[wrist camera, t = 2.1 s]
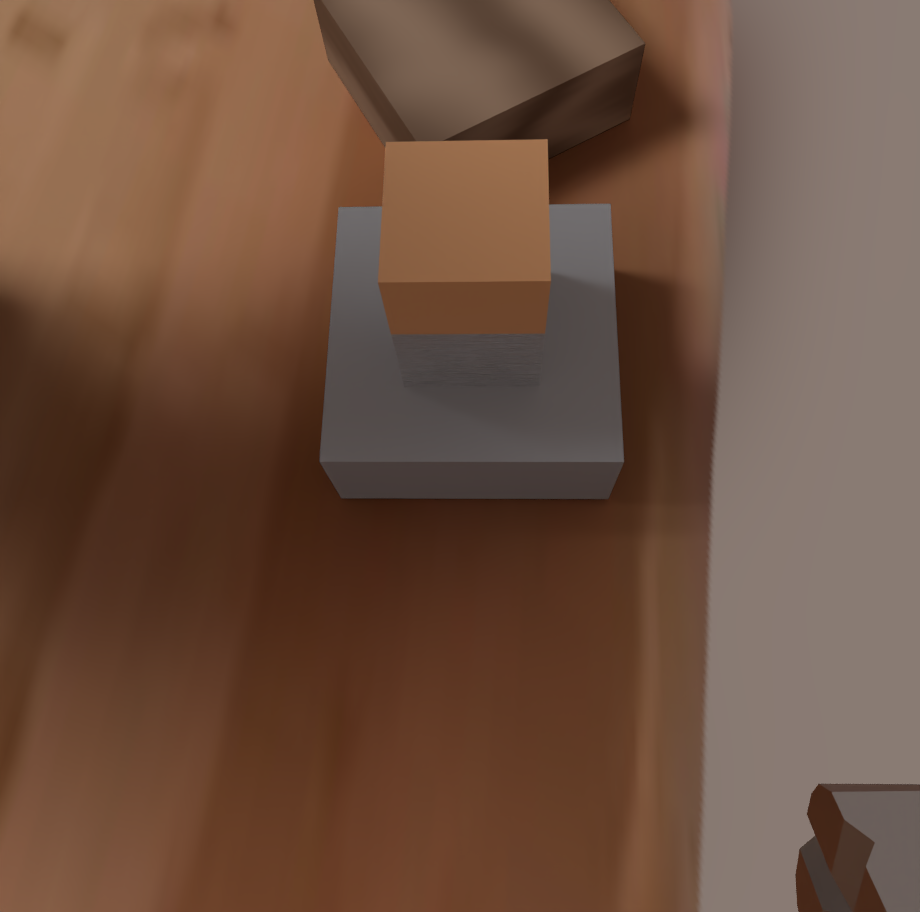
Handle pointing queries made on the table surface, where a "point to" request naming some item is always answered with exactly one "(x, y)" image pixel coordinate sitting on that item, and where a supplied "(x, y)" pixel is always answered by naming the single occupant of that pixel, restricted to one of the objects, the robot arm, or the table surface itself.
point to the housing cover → (465, 237)
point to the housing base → (469, 359)
